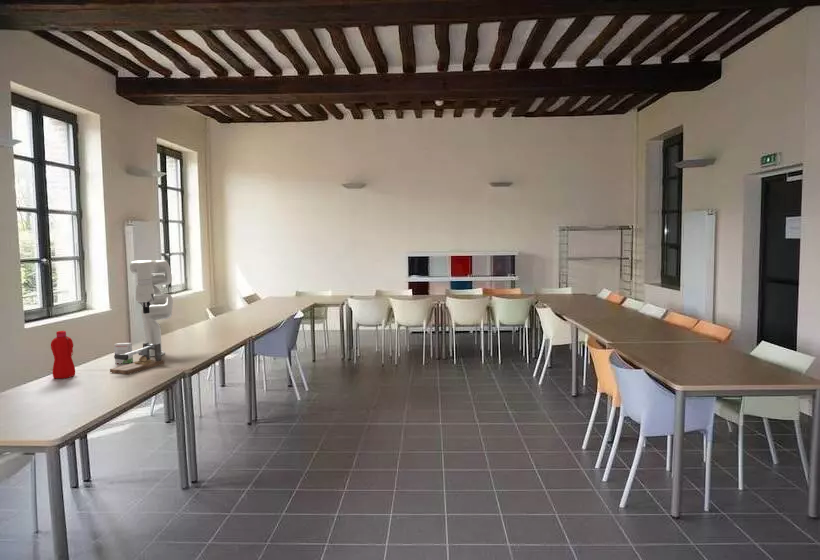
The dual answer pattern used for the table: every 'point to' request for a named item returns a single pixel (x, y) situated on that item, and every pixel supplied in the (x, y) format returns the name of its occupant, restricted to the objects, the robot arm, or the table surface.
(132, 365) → the brown board with cylinder
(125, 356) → the lever
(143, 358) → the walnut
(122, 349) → the ink box
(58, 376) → the red bottle
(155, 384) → the table surface
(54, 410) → the table surface
